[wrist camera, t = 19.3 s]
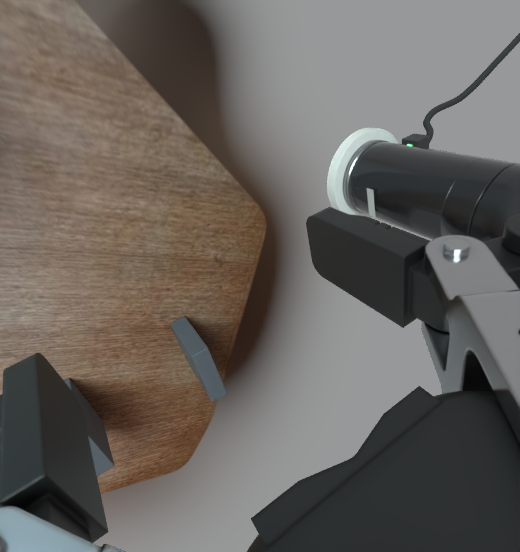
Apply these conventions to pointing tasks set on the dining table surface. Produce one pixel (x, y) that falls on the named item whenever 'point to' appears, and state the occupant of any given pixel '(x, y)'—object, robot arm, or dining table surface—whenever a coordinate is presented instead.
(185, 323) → the grey parallel blocks
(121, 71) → the dining table surface
